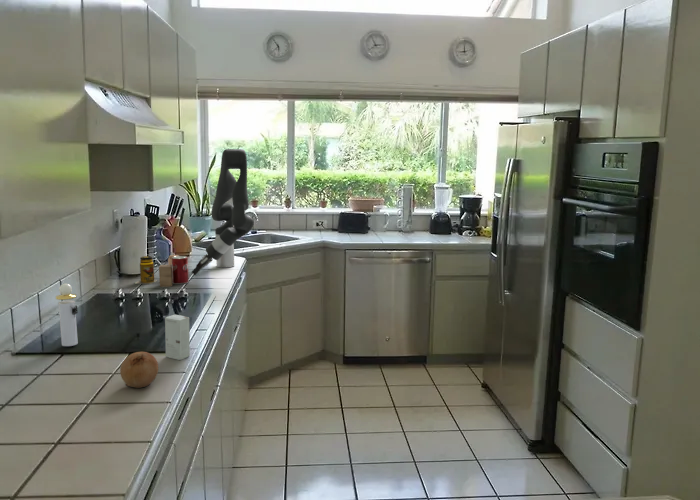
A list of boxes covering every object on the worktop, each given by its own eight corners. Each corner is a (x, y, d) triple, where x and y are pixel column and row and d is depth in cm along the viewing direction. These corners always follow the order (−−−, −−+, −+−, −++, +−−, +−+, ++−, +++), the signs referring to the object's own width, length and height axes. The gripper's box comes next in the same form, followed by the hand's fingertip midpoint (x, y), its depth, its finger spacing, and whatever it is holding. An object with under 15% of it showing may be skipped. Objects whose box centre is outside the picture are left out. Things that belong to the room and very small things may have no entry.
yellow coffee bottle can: (151, 284, 276) (150, 258, 274) (133, 283, 277) (132, 258, 275) (158, 280, 283) (156, 255, 281) (140, 280, 284) (139, 255, 282)
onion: (144, 401, 155) (142, 374, 149) (113, 388, 157) (110, 360, 151) (166, 376, 162) (165, 350, 157) (136, 364, 164) (134, 337, 159)
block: (161, 284, 275) (160, 265, 274) (172, 284, 276) (171, 264, 275) (160, 286, 270) (159, 267, 269) (171, 286, 271) (170, 266, 270)
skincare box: (165, 357, 179) (163, 317, 177) (176, 352, 183) (174, 313, 181) (180, 360, 176) (178, 320, 174) (191, 356, 180) (189, 316, 178)
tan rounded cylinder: (171, 277, 290) (170, 254, 288) (183, 277, 290) (182, 254, 288) (167, 280, 285) (166, 256, 283) (179, 280, 284) (177, 256, 282)
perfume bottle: (57, 349, 185) (52, 286, 182) (62, 343, 191) (57, 281, 187) (77, 348, 186) (72, 285, 183) (81, 342, 192) (77, 281, 189)
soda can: (172, 284, 274) (170, 258, 272) (173, 281, 281) (171, 256, 279) (188, 284, 276) (187, 258, 274) (189, 280, 283) (188, 255, 281)
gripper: (217, 239, 281) (192, 265, 284) (208, 243, 268) (182, 270, 271) (228, 250, 281) (203, 276, 284) (220, 255, 268) (194, 282, 271)
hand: (193, 273), depth 278 cm, fingers closed
